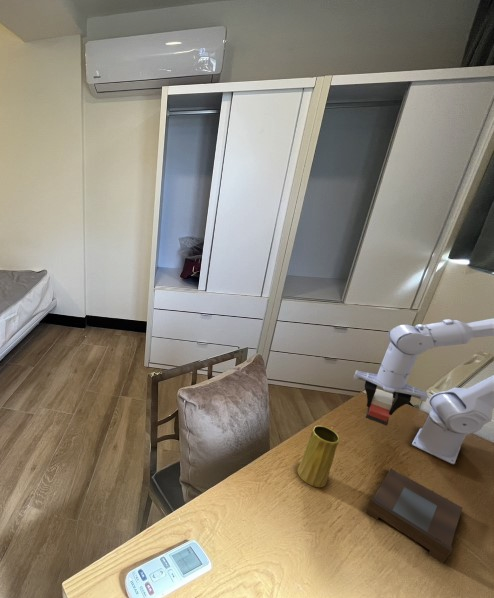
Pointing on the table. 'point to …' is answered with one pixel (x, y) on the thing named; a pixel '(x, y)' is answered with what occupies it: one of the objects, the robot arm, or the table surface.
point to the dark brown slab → (417, 513)
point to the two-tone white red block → (380, 407)
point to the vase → (318, 456)
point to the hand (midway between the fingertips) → (378, 408)
